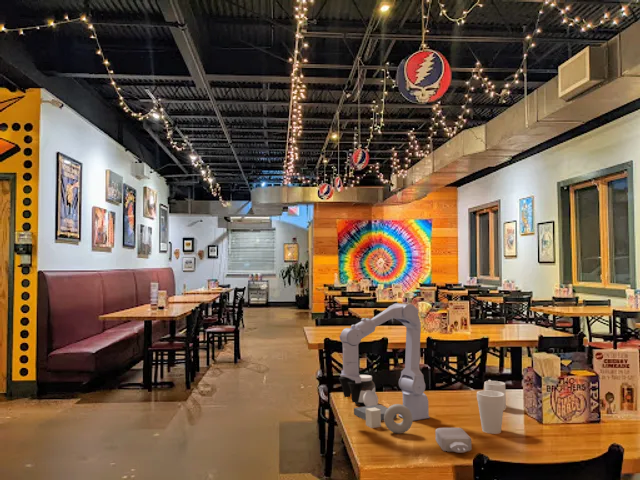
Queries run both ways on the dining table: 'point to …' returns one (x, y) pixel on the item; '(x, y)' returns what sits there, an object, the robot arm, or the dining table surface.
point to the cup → (496, 388)
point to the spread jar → (367, 392)
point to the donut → (393, 425)
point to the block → (373, 417)
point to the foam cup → (491, 410)
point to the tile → (362, 410)
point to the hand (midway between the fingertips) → (351, 399)
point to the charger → (453, 439)
